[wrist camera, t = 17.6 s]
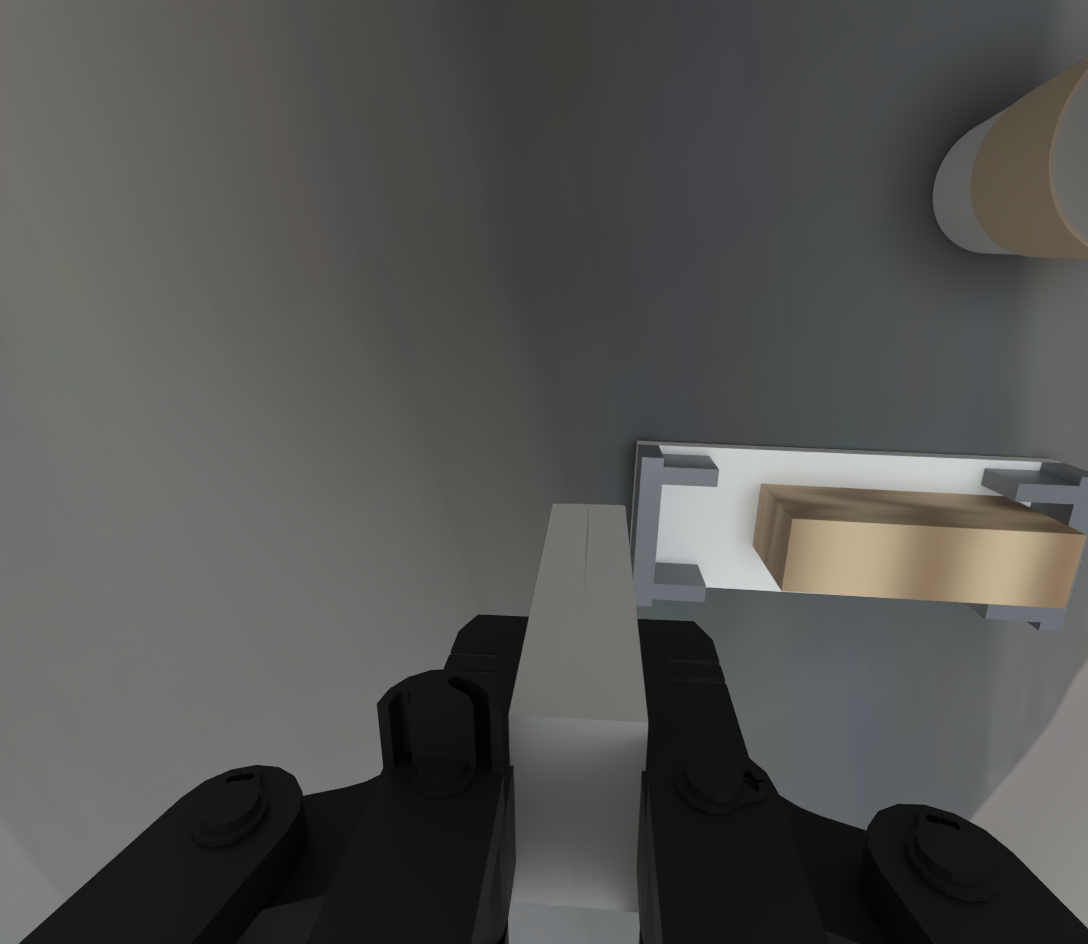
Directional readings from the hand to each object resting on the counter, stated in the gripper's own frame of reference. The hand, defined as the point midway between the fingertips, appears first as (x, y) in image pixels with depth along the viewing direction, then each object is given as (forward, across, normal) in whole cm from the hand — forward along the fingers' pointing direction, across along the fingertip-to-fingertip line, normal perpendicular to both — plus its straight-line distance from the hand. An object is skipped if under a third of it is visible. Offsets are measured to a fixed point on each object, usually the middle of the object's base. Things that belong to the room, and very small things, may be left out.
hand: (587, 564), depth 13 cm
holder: (+25, +14, -8) cm, 30 cm away
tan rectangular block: (+24, +17, -8) cm, 30 cm away
